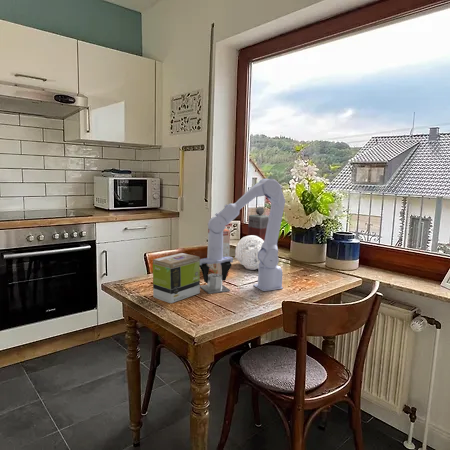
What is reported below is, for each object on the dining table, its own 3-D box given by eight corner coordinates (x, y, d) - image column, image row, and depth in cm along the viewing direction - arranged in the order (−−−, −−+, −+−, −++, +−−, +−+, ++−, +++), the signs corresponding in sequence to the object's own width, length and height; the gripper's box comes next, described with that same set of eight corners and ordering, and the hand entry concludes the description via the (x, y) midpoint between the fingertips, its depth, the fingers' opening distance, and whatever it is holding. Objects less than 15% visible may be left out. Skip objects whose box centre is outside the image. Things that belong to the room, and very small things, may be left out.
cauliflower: (223, 247, 181) (245, 224, 178) (245, 259, 192) (266, 237, 189) (240, 273, 167) (264, 248, 163) (262, 285, 178) (285, 261, 174)
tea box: (181, 288, 143) (182, 251, 141) (200, 294, 137) (201, 256, 135) (152, 297, 132) (152, 258, 129) (170, 304, 125) (171, 263, 123)
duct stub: (220, 284, 149) (220, 271, 148) (229, 291, 141) (230, 277, 140) (199, 286, 145) (200, 273, 144) (208, 293, 137) (209, 279, 136)
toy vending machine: (254, 253, 210) (256, 205, 206) (269, 257, 202) (271, 207, 198) (243, 255, 204) (245, 206, 200) (258, 259, 196) (261, 208, 192)
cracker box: (229, 275, 162) (230, 230, 159) (216, 276, 160) (218, 230, 157) (218, 268, 175) (219, 225, 172) (206, 268, 173) (207, 225, 170)
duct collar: (205, 286, 144) (205, 274, 143) (218, 284, 147) (218, 272, 146) (211, 290, 139) (211, 278, 138) (224, 288, 142) (224, 276, 141)
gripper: (202, 250, 134) (201, 286, 136) (236, 248, 140) (235, 282, 142) (195, 247, 140) (195, 280, 142) (228, 245, 147) (227, 277, 149)
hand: (214, 281), depth 143 cm, fingers open, 7 cm apart
